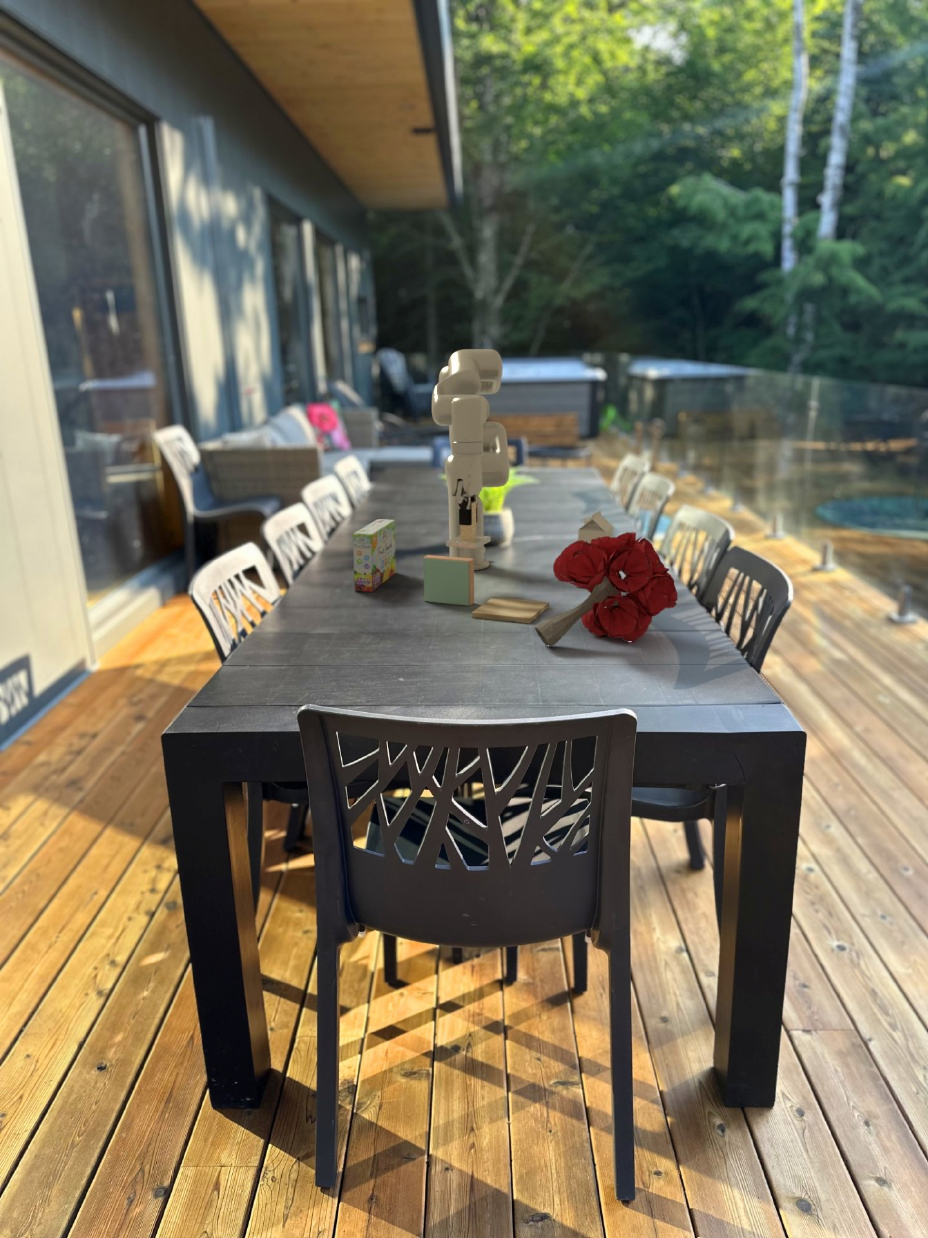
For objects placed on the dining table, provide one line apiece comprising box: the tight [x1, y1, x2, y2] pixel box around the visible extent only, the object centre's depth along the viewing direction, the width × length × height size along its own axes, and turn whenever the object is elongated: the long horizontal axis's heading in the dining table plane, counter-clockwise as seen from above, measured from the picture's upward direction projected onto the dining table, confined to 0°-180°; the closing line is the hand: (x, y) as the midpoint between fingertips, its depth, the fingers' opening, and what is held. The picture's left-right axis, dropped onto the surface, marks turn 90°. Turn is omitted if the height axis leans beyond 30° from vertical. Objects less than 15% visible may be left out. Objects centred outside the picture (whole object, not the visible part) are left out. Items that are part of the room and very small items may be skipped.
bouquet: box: [534, 531, 678, 648], centre depth 185 cm, size 22×24×30 cm
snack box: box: [352, 518, 397, 593], centre depth 237 cm, size 21×6×15 cm, turn 168°
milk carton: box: [577, 509, 614, 543], centre depth 229 cm, size 7×7×19 cm
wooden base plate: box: [471, 596, 550, 624], centre depth 210 cm, size 14×14×1 cm
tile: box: [422, 554, 475, 607], centre depth 217 cm, size 3×12×11 cm, turn 68°
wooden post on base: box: [445, 501, 492, 549], centre depth 225 cm, size 10×8×10 cm
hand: (468, 523), depth 225 cm, fingers closed on wooden post on base, 3 cm apart
